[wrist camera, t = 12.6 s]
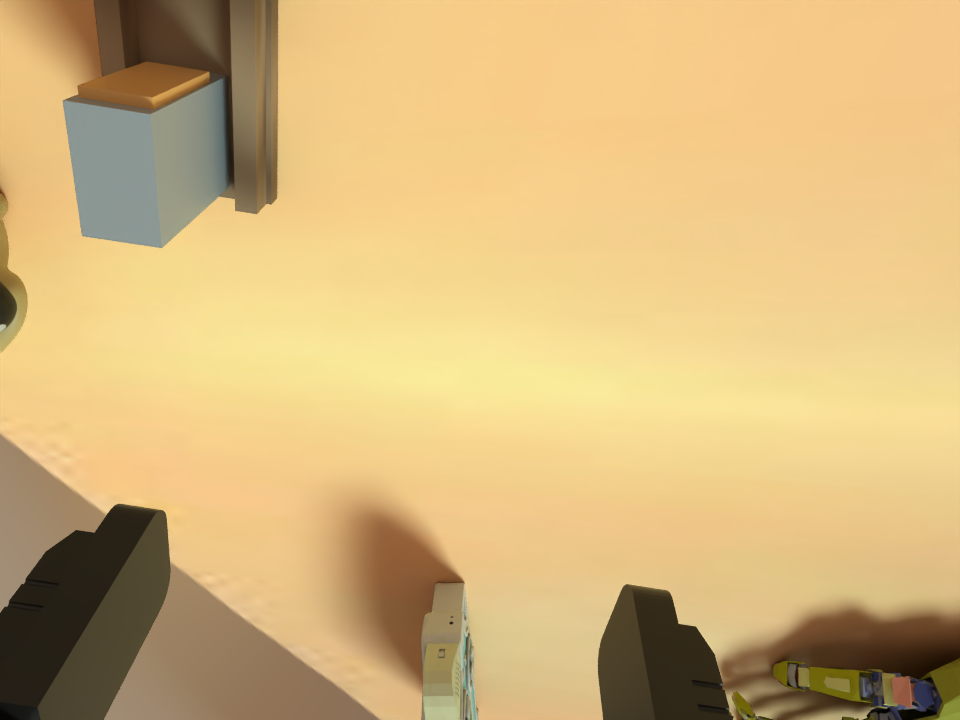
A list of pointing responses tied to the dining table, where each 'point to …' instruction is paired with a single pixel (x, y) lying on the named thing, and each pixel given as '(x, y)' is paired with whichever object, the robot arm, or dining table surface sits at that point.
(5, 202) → the toy pig
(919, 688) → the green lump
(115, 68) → the rail
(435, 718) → the grey rectangular slab
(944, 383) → the dining table surface
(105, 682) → the robot arm
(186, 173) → the grey rectangular block
